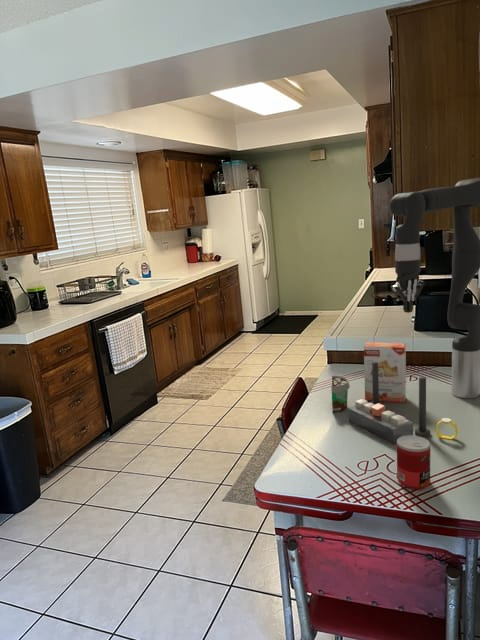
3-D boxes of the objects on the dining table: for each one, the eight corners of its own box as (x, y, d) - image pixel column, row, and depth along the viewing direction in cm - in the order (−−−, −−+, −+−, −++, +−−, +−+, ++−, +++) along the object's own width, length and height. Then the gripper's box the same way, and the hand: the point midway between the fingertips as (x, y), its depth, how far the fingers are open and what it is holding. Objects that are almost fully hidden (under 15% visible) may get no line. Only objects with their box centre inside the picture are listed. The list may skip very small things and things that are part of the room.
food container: (350, 414, 164) (349, 387, 162) (332, 414, 166) (331, 387, 164) (350, 400, 176) (349, 375, 174) (333, 400, 178) (331, 375, 175)
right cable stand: (422, 429, 149) (421, 374, 146) (433, 434, 146) (433, 378, 142) (411, 433, 147) (411, 377, 144) (423, 438, 144) (423, 381, 140)
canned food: (426, 493, 117) (426, 451, 114) (393, 485, 121) (392, 445, 119) (433, 477, 123) (433, 438, 121) (401, 471, 127) (400, 432, 125)
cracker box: (364, 401, 175) (363, 345, 170) (366, 395, 180) (365, 341, 176) (405, 403, 170) (404, 346, 165) (406, 397, 175) (405, 342, 171)
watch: (435, 439, 143) (434, 420, 142) (437, 435, 146) (435, 417, 145) (457, 441, 140) (456, 422, 139) (458, 437, 142) (457, 418, 141)
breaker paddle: (379, 409, 152) (378, 403, 152) (385, 412, 150) (384, 405, 149) (372, 413, 151) (371, 407, 151) (378, 416, 149) (377, 409, 148)
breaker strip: (367, 416, 162) (366, 396, 161) (413, 437, 145) (412, 416, 143) (348, 422, 159) (347, 402, 157) (393, 445, 141) (393, 423, 140)
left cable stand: (376, 409, 167) (375, 360, 163) (385, 413, 163) (384, 362, 159) (366, 412, 165) (365, 362, 161) (375, 416, 161) (374, 365, 157)
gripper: (413, 255, 156) (414, 307, 160) (383, 260, 151) (384, 313, 154) (432, 256, 150) (432, 310, 154) (401, 261, 144) (401, 317, 148)
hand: (408, 312), depth 154 cm, fingers closed
